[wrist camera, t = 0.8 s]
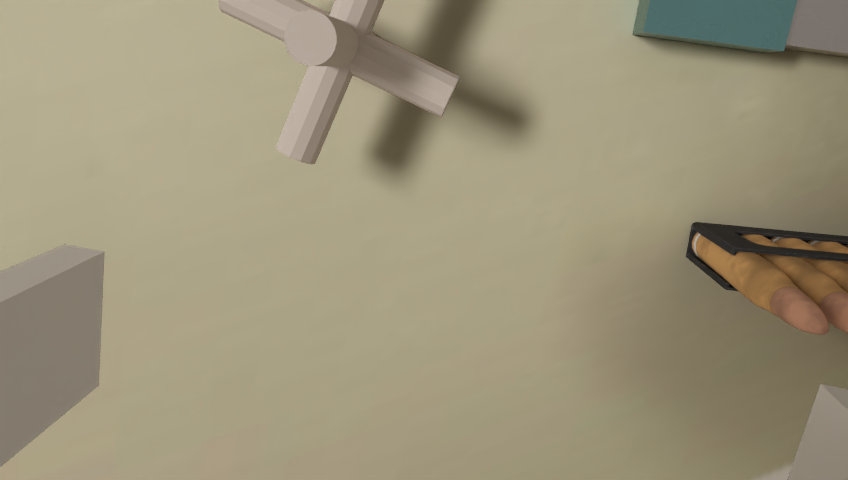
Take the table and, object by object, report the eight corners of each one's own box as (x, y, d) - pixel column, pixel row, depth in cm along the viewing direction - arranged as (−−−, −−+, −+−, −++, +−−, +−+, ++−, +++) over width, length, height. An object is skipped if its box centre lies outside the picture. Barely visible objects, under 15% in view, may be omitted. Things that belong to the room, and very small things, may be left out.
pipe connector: (502, -6, 32) (509, -41, 22) (412, 185, 34) (383, 230, 24) (306, -102, 31) (227, -179, 22) (231, 98, 34) (129, 109, 24)
